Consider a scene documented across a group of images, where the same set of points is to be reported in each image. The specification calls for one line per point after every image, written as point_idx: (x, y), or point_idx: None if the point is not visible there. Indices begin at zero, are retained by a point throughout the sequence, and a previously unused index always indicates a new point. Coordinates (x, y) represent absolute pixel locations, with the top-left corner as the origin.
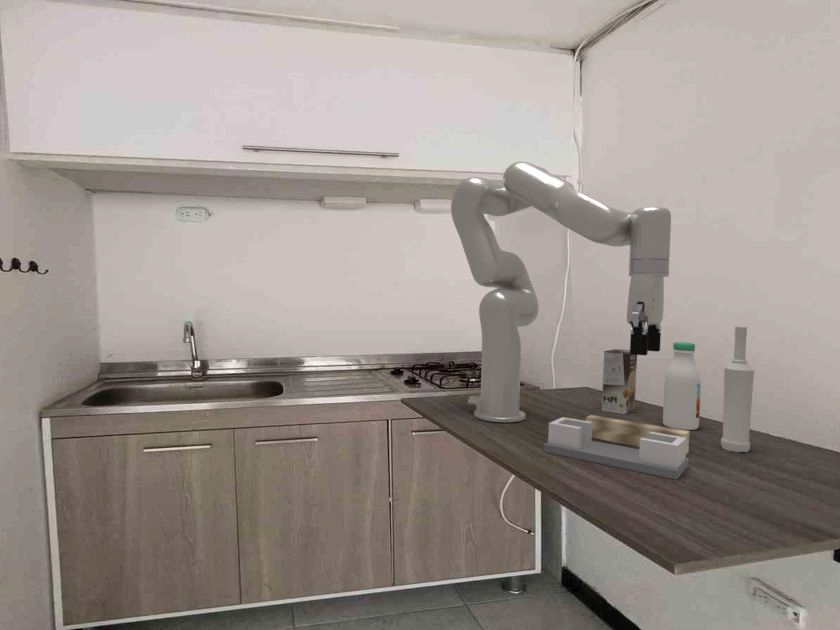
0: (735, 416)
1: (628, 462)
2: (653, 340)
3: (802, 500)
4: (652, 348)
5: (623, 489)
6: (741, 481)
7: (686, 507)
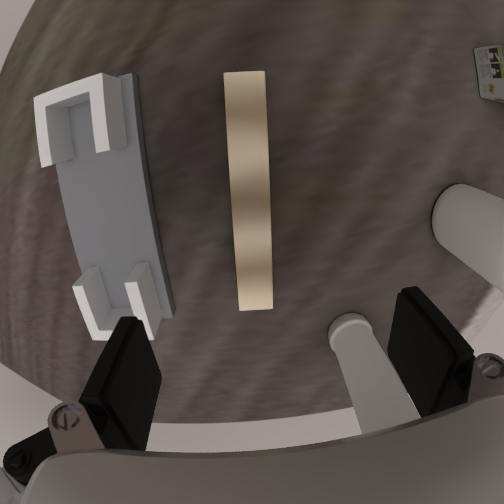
0: (344, 375)
1: (77, 254)
2: (412, 369)
3: (163, 409)
4: (395, 336)
5: (22, 275)
6: (172, 367)
7: (42, 337)
